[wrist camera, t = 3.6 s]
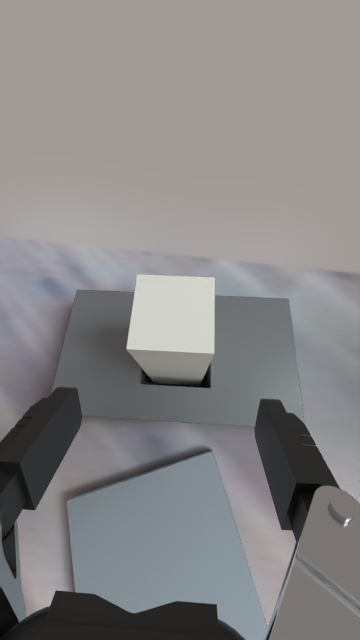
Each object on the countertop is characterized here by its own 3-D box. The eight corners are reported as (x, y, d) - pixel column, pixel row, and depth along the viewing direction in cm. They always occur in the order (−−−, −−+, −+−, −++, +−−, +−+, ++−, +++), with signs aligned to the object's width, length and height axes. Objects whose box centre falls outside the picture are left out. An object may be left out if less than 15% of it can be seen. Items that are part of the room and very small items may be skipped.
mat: (211, 449, 19) (212, 451, 18) (270, 640, 15) (276, 655, 14) (72, 496, 18) (66, 501, 17) (95, 716, 14) (89, 737, 13)
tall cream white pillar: (201, 341, 23) (214, 277, 12) (199, 385, 21) (214, 353, 11) (158, 339, 23) (137, 274, 13) (154, 383, 21) (126, 349, 11)
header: (274, 315, 23) (288, 298, 20) (285, 428, 20) (305, 430, 16) (91, 307, 24) (76, 289, 21) (67, 414, 20) (45, 413, 17)
